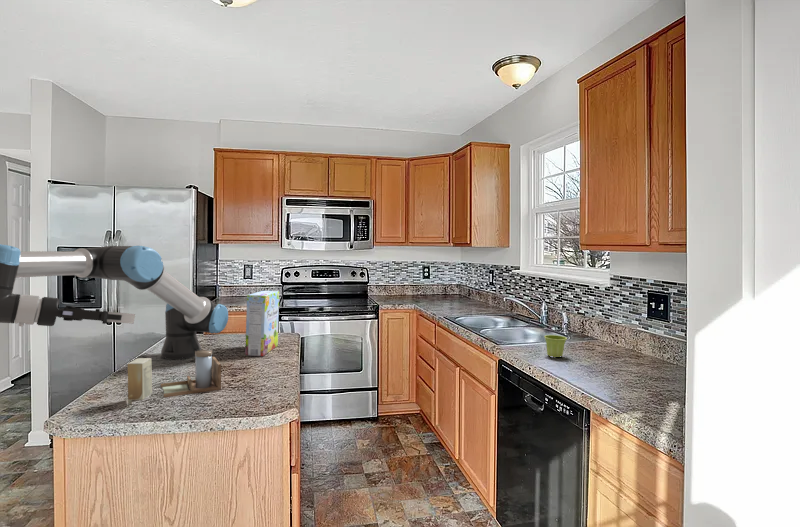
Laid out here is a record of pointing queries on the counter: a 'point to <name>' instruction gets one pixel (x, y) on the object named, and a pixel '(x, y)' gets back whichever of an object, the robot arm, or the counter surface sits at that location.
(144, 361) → the skincare box
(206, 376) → the spice jar
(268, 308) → the snack box
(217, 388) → the rack
